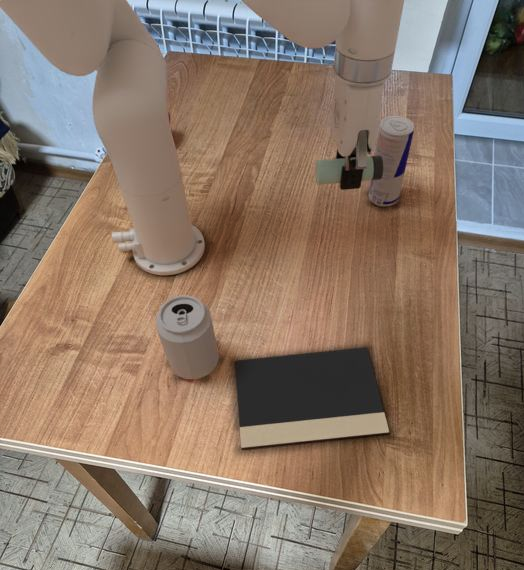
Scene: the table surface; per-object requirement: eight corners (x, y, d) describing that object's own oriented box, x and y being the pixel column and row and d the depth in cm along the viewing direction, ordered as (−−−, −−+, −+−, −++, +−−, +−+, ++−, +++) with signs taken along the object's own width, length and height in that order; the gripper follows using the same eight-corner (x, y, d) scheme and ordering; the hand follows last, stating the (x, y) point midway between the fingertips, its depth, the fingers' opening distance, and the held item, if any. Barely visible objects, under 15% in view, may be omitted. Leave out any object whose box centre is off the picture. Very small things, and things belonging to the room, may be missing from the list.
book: (241, 449, 69) (241, 447, 68) (234, 362, 77) (234, 360, 76) (388, 434, 69) (389, 432, 69) (367, 349, 77) (367, 346, 76)
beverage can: (397, 209, 94) (414, 135, 81) (366, 206, 94) (378, 133, 82) (399, 190, 97) (415, 115, 84) (369, 187, 97) (381, 113, 85)
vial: (318, 189, 80) (319, 169, 77) (314, 176, 82) (315, 155, 79) (381, 184, 80) (384, 163, 78) (375, 171, 83) (379, 150, 80)
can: (220, 339, 79) (210, 288, 69) (219, 381, 75) (208, 333, 65) (171, 341, 79) (155, 291, 69) (168, 383, 75) (150, 336, 65)
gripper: (324, 32, 71) (316, 149, 86) (346, 98, 61) (332, 216, 77) (377, 28, 71) (360, 146, 86) (408, 93, 62) (382, 212, 77)
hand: (347, 178), depth 81 cm, fingers closed on vial, 3 cm apart
